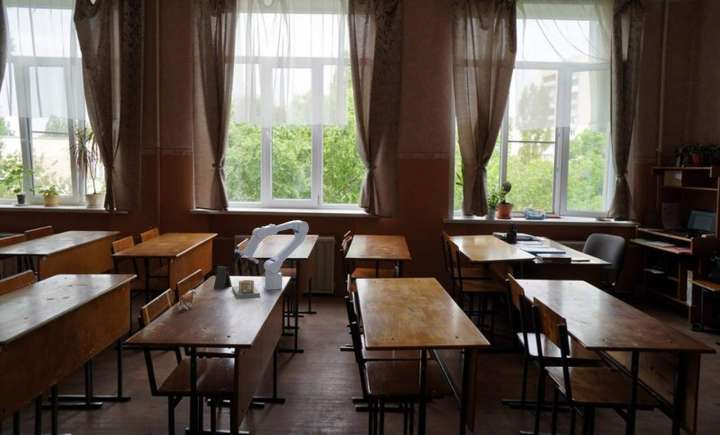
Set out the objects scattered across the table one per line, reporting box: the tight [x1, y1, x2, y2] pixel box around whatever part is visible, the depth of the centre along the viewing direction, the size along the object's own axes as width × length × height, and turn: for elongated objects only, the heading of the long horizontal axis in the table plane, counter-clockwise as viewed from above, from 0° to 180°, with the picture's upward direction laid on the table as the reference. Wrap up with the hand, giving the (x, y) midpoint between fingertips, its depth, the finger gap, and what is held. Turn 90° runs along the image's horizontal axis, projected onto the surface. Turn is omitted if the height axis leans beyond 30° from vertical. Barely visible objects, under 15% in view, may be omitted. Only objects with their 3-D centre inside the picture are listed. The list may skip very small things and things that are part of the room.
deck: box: [231, 285, 261, 299], centre depth 317 cm, size 12×20×2 cm, turn 20°
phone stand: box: [213, 265, 233, 290], centre depth 331 cm, size 9×6×12 cm, turn 156°
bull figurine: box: [178, 289, 198, 311], centre depth 284 cm, size 4×13×8 cm, turn 164°
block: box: [242, 282, 251, 292], centre depth 317 cm, size 4×10×4 cm, turn 20°
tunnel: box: [238, 279, 255, 291], centre depth 315 cm, size 8×3×5 cm, turn 110°
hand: (239, 269), depth 320 cm, fingers open, 7 cm apart
